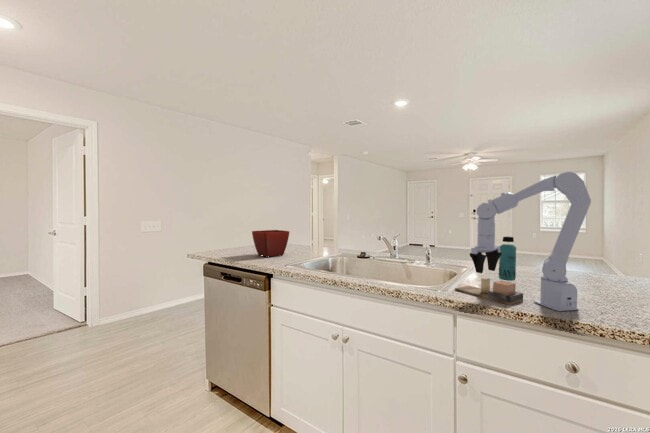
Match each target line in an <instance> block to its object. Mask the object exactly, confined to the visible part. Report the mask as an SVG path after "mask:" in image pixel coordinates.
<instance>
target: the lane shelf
mask: <svg viewBox="0 0 650 433" xmlns="http://www.w3.org/2000/svg"><path fill="white" fill-rule="evenodd" d="M454 291H456V292H460V293H464V294H468V295H470V296H475V297H479V298H483V299H486V300H489V301H493V302H495V303H496V302H497V303H500V304H504V305H507V306H510V305H511V306H512V305H515V304H518V303H522V302H523V301H524V293H523V292H518V291H516V290H515V294H512V295H504V294H500V293H496V292H492V291H493V290H490V291H488V293H482V292H481V287H477V286H473V285H468V284H467V285H463V286H458V287H455V288H454Z"/></svg>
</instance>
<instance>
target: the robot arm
mask: <svg viewBox="0 0 650 433" xmlns="http://www.w3.org/2000/svg"><path fill="white" fill-rule="evenodd" d="M555 189H556V190H558V192H559V193H562V194H563V195H564V196H565V198H566V199H567V200H568V201H569V203H570V205H569V209H568V211H567V214H566V216H565V219H564V221H563V224H562V225H561V226H562V227H561V229H560V231H559V234H558V236H557V238H556V242H555V244H554V247H553V248H552V251H551V253H550V255H549V257H548V258H546V259H545V260H544V261H543V264H542V267H541V272H542V274H543V275H541V276H540V297H539V299H540V300H533V303H535V304H538V305H540V306H543V307H545V308H549V309H550V310H553V311H554V310H555V311H557V312H564V311H565V312H566V311H579V310H580V308H579V307H578V289H577V286H575V285H574V284H573V283H570V282H569V278H568V277H566V275H567V265H566V264H567V263H568V260H569V256H570V254H571V252H572V250H573V249H572V248H573V246H574V245H575V243H576V242H575V241H576V239H577V237H578V234H579V232H580V231H581V227H582V224H583V222H584V220H585V218H586V215H587V213H588V210H589V209H590V205H591V203H592V199H591V197H590V194H589V192H588V189H587V187H586V184H585V181H584V180H583V179H582V178H581V176H579V175H578V174H577V173H575V172H572V171H564V172H561V173H559V174H558V175H553V176H550V177H547V178H544V179H542V180H539V181H537V182H536V183H533V184H532V185H529V186H527V187H525V188H523V189H521V190H519V191H516V193H512V192H509V191H508V192H502V193H500V195H499V196H497V197H495V198H493V199H487V202H482V203H481V204H479V205H478V206H477V208H476V214H477V216H478V218H477V245H475V246H474V247H471V248H470V249H471V250H470V252H469V257H470V258H471V261H472V262H473V265H474V269H475V273H478V274H483V272H484V267H485V266H484V264H485V260H486V259H487V270H488V271H492V272H495V271H496V268H497V265H498V262H499V260H500V256H501V255H502V252H500V246H501V245H496V243H495V242H496V241H495V240H496V238H495V237H496V223H495V221H496V220H495V216H496V215H497V214H498V215H500V214H503V213H505V212H508V211H510V210H512V209H515V208H517V207H518V205H519V202H521V201H523V200H526V199H528V198H530V197H534V196H536V195H538V194H540V193H543V192H555Z"/></svg>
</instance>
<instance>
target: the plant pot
mask: <svg viewBox="0 0 650 433" xmlns="http://www.w3.org/2000/svg"><path fill="white" fill-rule="evenodd" d="M251 233H252V239H253V244H254V247H255V251H256V254H257V256H259V255H263V256H267V257H266V258H269V257H268V256H275V257H280V256H279V255H283V256H284V254H285V251H286V248H287V245H288V241H289V236H290V231H289V230H282V229H281V230H279V229H269V230H252V231H251ZM263 256H262V257H263Z"/></svg>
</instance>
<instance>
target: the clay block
mask: <svg viewBox="0 0 650 433" xmlns="http://www.w3.org/2000/svg"><path fill="white" fill-rule="evenodd" d="M516 286H517V285H516V283H514V282H512V281H511V282H510V281H507V280H497V281H493V283H492V287H493V288H492V290H491V278H489V277H488V278H487V277H481V278H480V288H481V292H482V293H488V291H492V292H496V293H500V294H504V295H512V294H515V291H516V290H517V288H516Z"/></svg>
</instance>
